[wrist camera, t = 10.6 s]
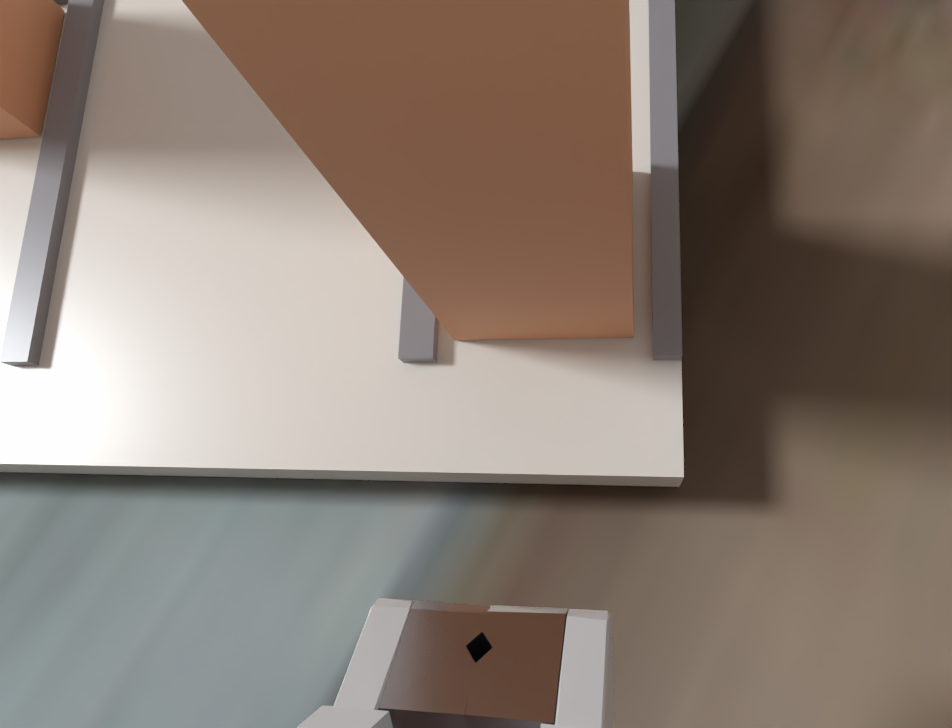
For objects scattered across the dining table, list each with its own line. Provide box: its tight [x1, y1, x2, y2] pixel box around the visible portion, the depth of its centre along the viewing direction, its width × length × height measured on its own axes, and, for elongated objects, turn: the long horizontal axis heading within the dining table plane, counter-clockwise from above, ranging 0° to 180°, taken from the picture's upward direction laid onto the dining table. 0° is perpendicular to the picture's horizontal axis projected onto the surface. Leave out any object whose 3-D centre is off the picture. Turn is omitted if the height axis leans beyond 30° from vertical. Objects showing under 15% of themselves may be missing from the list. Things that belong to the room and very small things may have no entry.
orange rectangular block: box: [182, 0, 634, 340], centre depth 12 cm, size 4×4×13 cm
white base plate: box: [0, 0, 684, 487], centre depth 21 cm, size 22×16×3 cm
